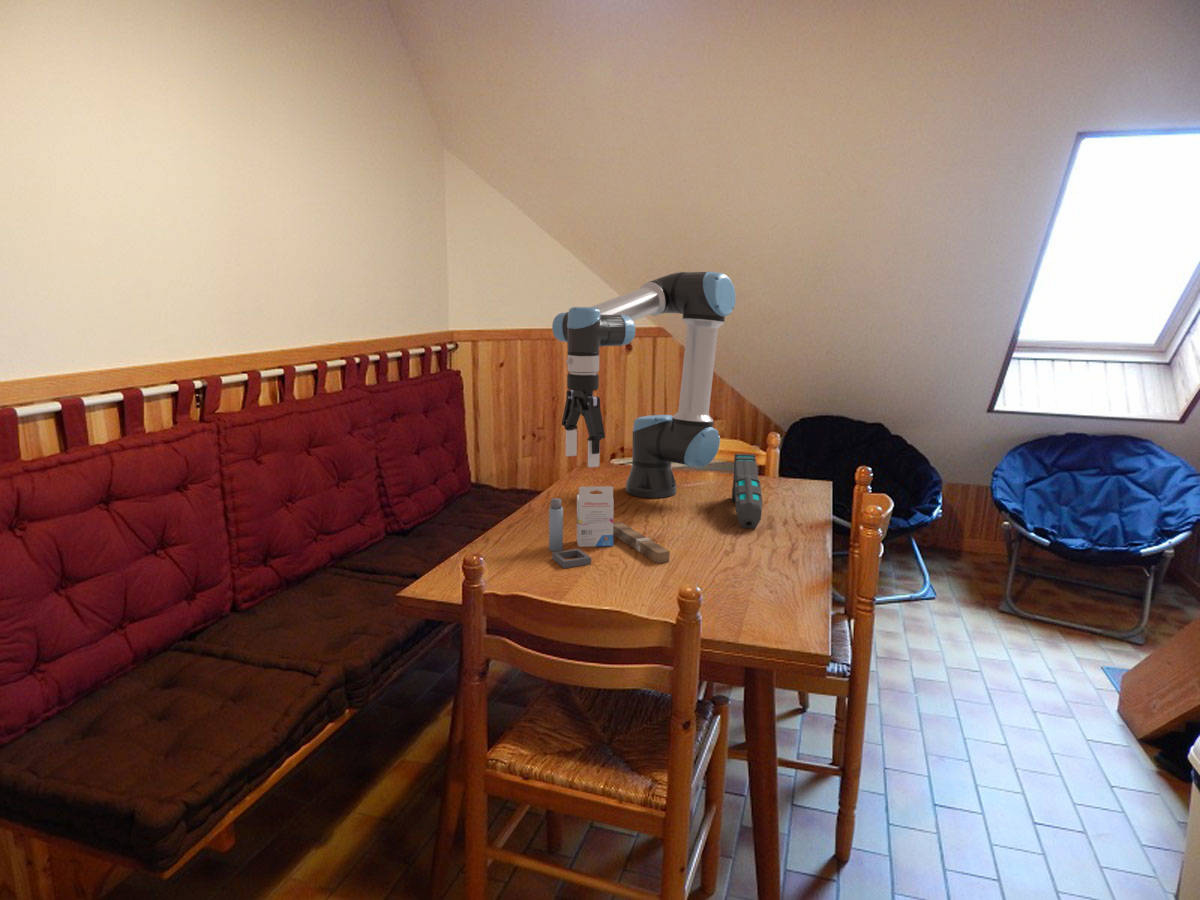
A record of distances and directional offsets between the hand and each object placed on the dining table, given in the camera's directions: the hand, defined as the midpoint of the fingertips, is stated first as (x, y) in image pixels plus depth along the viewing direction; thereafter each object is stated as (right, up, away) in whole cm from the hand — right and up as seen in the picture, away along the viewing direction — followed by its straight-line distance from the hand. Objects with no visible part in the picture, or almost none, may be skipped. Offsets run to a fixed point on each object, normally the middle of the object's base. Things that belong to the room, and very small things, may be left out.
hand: (582, 461), depth 187 cm
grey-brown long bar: (+13, -20, -5) cm, 25 cm away
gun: (+44, -15, +24) cm, 52 cm away
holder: (-2, -22, -15) cm, 27 cm away
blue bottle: (-6, -20, -7) cm, 23 cm away
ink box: (+3, -20, -3) cm, 20 cm away
